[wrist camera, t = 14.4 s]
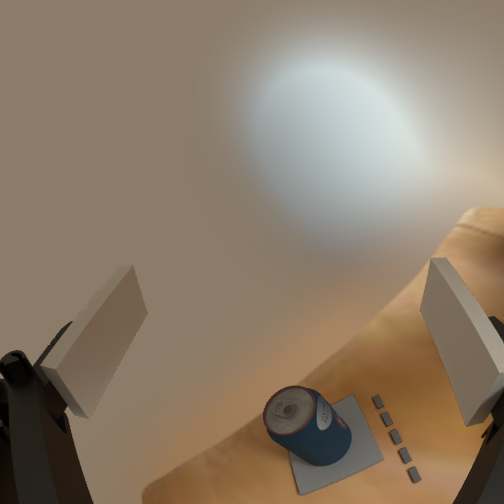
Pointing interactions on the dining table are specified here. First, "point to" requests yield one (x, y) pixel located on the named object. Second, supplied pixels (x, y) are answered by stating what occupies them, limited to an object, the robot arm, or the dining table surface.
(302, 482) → the slate pad
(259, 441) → the dining table surface
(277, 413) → the soda can
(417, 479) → the perforation line
